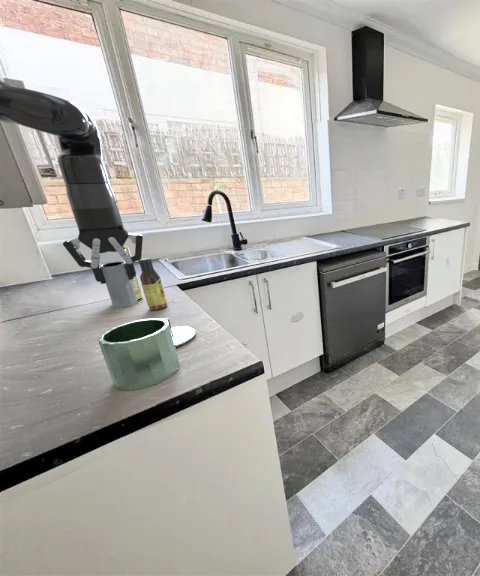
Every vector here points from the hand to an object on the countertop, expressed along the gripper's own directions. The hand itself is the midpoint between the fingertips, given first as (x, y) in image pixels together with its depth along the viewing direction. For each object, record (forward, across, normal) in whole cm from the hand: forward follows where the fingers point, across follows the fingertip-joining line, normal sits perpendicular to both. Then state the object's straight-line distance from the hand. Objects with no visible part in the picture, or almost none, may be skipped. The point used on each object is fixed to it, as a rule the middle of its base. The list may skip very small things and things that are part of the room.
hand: (118, 280), depth 72 cm
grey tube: (+7, 0, 0) cm, 7 cm away
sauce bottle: (+25, +4, +52) cm, 58 cm away
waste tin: (+25, 0, -1) cm, 25 cm away
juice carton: (+25, -6, +69) cm, 73 cm away
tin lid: (+24, +6, +17) cm, 30 cm away
